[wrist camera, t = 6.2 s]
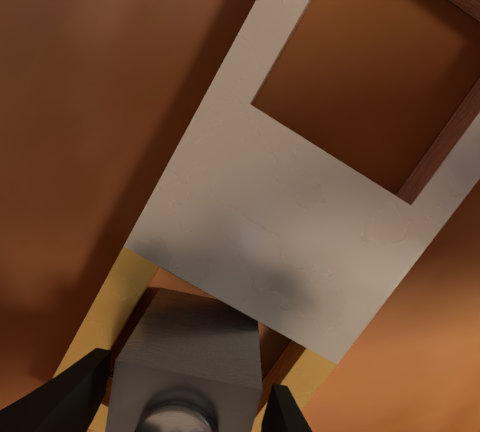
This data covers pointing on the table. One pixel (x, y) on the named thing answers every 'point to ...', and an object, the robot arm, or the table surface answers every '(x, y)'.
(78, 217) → the table surface
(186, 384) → the grey knobbed block
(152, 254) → the plate with square hole
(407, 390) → the table surface
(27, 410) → the robot arm
